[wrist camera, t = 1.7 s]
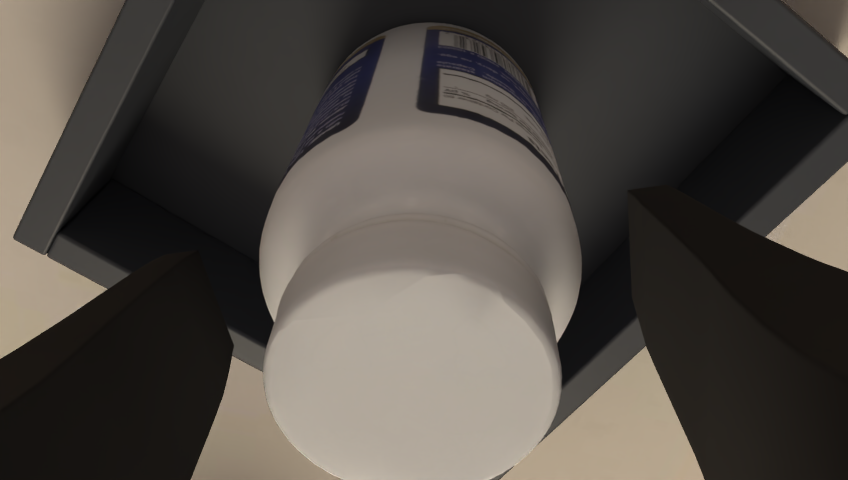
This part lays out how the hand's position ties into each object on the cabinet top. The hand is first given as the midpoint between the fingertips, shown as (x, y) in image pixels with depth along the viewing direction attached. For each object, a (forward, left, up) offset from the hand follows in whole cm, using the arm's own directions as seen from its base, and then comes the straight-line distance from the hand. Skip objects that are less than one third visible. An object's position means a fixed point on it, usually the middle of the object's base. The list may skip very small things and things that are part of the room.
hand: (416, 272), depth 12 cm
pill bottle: (0, 0, -7) cm, 7 cm away
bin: (0, 0, -7) cm, 7 cm away
